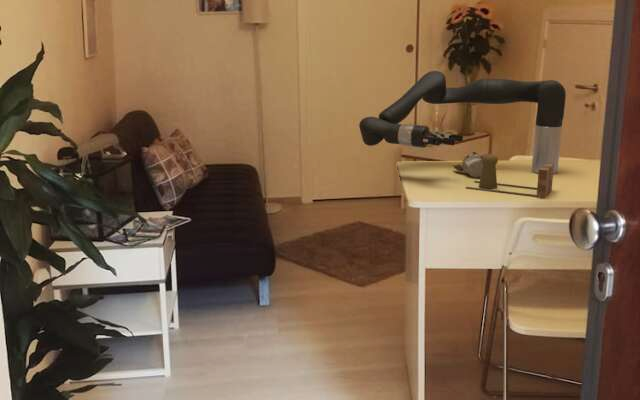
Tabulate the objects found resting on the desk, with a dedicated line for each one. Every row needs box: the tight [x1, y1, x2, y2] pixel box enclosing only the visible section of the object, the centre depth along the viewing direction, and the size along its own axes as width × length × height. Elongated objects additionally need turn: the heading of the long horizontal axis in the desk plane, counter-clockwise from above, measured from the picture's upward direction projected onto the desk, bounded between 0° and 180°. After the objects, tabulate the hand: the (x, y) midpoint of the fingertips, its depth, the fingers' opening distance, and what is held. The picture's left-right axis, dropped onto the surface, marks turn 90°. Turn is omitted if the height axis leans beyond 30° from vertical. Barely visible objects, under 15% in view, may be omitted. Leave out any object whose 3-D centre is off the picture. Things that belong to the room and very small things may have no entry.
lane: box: [465, 163, 554, 199], centre depth 235 cm, size 12×26×9 cm, turn 62°
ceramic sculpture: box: [453, 151, 483, 179], centre depth 257 cm, size 11×9×15 cm
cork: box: [478, 154, 499, 190], centre depth 238 cm, size 6×6×11 cm
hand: (458, 140), depth 240 cm, fingers open, 8 cm apart
